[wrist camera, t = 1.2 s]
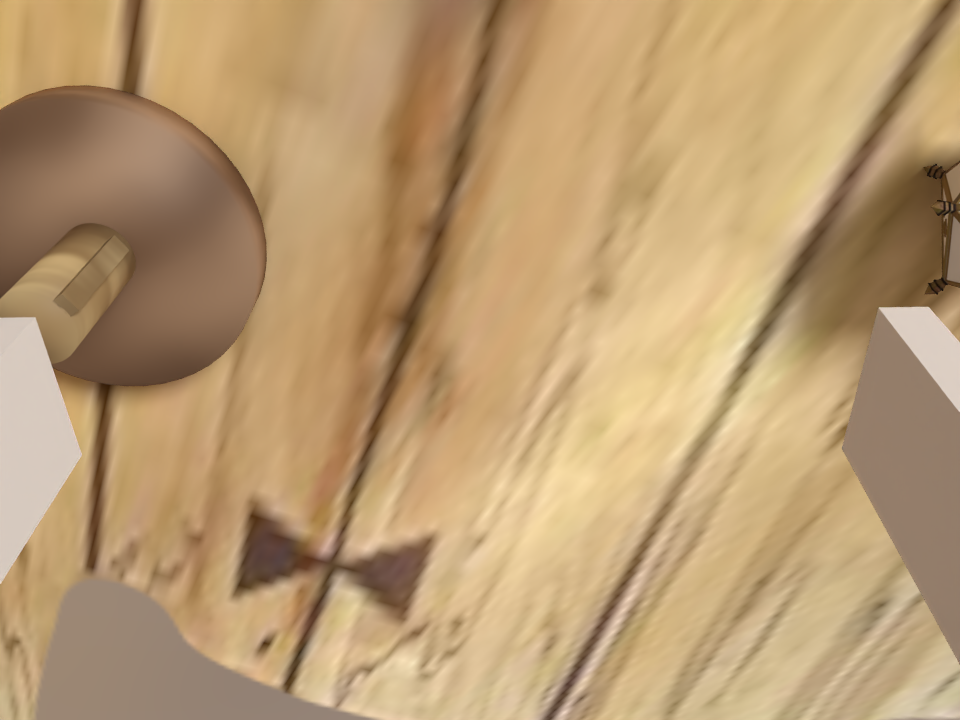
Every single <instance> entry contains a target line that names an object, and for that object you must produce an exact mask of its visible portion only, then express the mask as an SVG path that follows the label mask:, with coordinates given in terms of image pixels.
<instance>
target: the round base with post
mask: <svg viewBox="0 0 960 720" xmlns="http://www.w3.org/2000/svg"><path fill="white" fill-rule="evenodd" d="M266 262H267V257H266V239H265V233H264V227H263V223H262V220H261V217H260V213H259V210H258V207H257V205H256V203H255V200H254V198H253V196H252V194H251V192H250V189H249V188H248V186H247V184H246V183H245V181H244V179H243V178H242V176H241V174H240V173H239V171H238V170H237V169H236V167H235V166H234V165H233V163H232V162H231V161H230V160H229V158H228V157H227V156H226V154H225V153H224V152H223V151H222V150H221V149H220V148H219V147H218V146H217V145H216V144H215V143H214V142H213V141H212V140H211V139H210V138H209V137H208V136H206V135H205V134H204V133H203V132H201V131H200V130H199V129H198V128H197V127H195V126H194V125H193V124H192V123H190V122H189V121H187V120H185V119H184V118H182V117H181V116H179V115H178V114H176V113H175V112H173V111H171V110H169V109H167V108H165V107H163V106H161V105H159V104H157V103H155V102H153V101H151V100H148V99H145V98H143V97H140V96H137V95H134V94H132V93H128V92H124V91H120V90H115V89H111V88H105V87H96V86H63V87H57V88H50V89H45V90H42V91H39V92H36V93H32V94H29V95H26V96H24V97H22V98H20V99H19V100H17V101H15V102H13V103H11V104H9V105H7V106H6V107H4V108H2V109H1V110H0V318H16V317H35V318H36V321H37V324H38V327H39V330H40V333H41V335H42V338H43V341H44V344H45V347H46V350H47V353H48V356H49V359H50V362H51V365H52V368H54V369H57V370H59V371H61V372H64V373H66V374H69V375H72V376H75V377H78V378H82V379H85V380H88V381H93V382H98V383H103V384H110V385H120V386H148V385H155V384H163V383H167V382H171V381H175V380H179V379H182V378H184V377H187V376H189V375H192V374H194V373H196V372H198V371H200V370H202V369H203V368H205V367H207V366H209V365H210V364H212V363H213V362H214V361H215V360H217V359H218V358H219V357H221V356H222V355H223V354H224V353H225V352H226V351H227V350H228V349H229V348H230V346H231V345H232V344H233V343H234V342H235V340H236V339H237V337H238V336H239V334H240V333H241V332H242V330H243V328H244V326H245V324H246V322H247V320H248V318H249V316H250V314H251V312H252V310H253V307H254V305H255V303H256V301H257V299H258V297H259V295H260V292H261V288H262V285H263V281H264V278H265V270H266Z"/></svg>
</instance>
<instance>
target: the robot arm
mask: <svg viewBox="0 0 960 720" xmlns="http://www.w3.org/2000/svg"><path fill="white" fill-rule="evenodd" d="M842 450H843V452H844V453H845V455H846V457H847V459H848V461H849V463H850V464H851V466H852V468H853V470H854V472H855V474H856V475H857V477H858V479H859V481H860V483H861V485H862V486H863V488H864V490H865V492H866V494H867V496H868V497H869V499H870V501H871V503H872V505H873V506H874V508H875V510H876V512H877V514H878V516H879V517H880V519H881V521H882V523H883V525H884V527H885V528H886V530H887V532H888V534H889V536H890V538H891V539H892V541H893V543H894V545H895V547H896V549H897V550H898V552H899V554H900V556H901V558H902V560H903V561H904V563H905V565H906V567H907V569H908V571H909V572H910V574H911V576H912V578H913V580H914V582H915V583H916V585H917V587H918V589H919V591H920V592H921V594H922V596H923V598H924V600H925V602H926V603H927V605H928V607H929V609H930V611H931V613H932V614H933V616H934V618H935V620H936V622H937V624H938V625H939V627H940V629H941V631H942V633H943V635H944V636H945V638H946V640H947V642H948V644H949V646H950V647H951V649H952V651H953V653H954V655H955V657H956V658H957V660H958V662H959V664H960V342H959V341H958V340H957V339H956V338H955V337H954V335H953V334H952V333H951V332H950V331H949V330H948V329H947V327H946V326H945V325H944V324H943V323H942V322H941V321H940V319H939V318H938V317H937V316H936V315H935V314H934V313H933V311H932V310H931V309H930V308H929V307H878V311H877V314H876V318H875V322H874V326H873V330H872V334H871V338H870V342H869V345H868V349H867V353H866V357H865V361H864V365H863V369H862V373H861V376H860V380H859V384H858V388H857V392H856V396H855V400H854V404H853V407H852V411H851V415H850V419H849V423H848V427H847V431H846V435H845V438H844V442H843V446H842ZM81 456H82V454H81V451H80V448H79V445H78V442H77V439H76V436H75V433H74V430H73V427H72V424H71V421H70V418H69V415H68V412H67V409H66V407H65V404H64V401H63V398H62V395H61V392H60V389H59V386H58V383H57V380H56V377H55V374H54V371H53V368H52V365H51V362H50V359H49V356H48V353H47V350H46V347H45V344H44V341H43V338H42V335H41V333H40V330H39V327H38V324H37V321H36V318H35V317H16V318H0V584H1V582H2V581H3V579H4V578H5V576H6V574H7V573H8V571H9V570H10V568H11V566H12V565H13V563H14V562H15V560H16V559H17V557H18V555H19V554H20V552H21V551H22V549H23V547H24V546H25V544H26V543H27V541H28V540H29V538H30V536H31V535H32V533H33V532H34V530H35V528H36V527H37V525H38V524H39V522H40V521H41V519H42V517H43V516H44V514H45V513H46V511H47V509H48V508H49V506H50V505H51V503H52V502H53V500H54V498H55V497H56V495H57V494H58V492H59V491H60V489H61V487H62V486H63V484H64V483H65V481H66V479H67V478H68V476H69V475H70V473H71V472H72V470H73V468H74V467H75V465H76V464H77V462H78V460H79V459H80V457H81Z"/></svg>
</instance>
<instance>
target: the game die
mask: <svg viewBox="0 0 960 720" xmlns="http://www.w3.org/2000/svg"><path fill="white" fill-rule="evenodd" d="M923 168H924V169H925V171H926V172H927V176H929V177H933V178H935V179H937V178H940V179H941V198H942V201H941V200H937V202H936V203H935V204H934V205H932V206H931V207H932V208H933V209H934V211H935V212H936V214H937V215H938V216H939V215H941V214H942V278H941V279H939V280H934V282H932V283H928V284H929V285H928V288H927V290H926V292H925V294H937V295H938V292H940V291H941V290H942V291H943V288H944V287H945V286H946V285H948V284H949V285H952V286H956V287H959V288H960V161H959V162H958V163H956V164H955V165H954V166H952V167H951V168H950V169H949V170H947V171H944V170H943V169H942V166H940V167H939V166H937V164H935V165H932V166H927V167H923Z"/></svg>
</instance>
